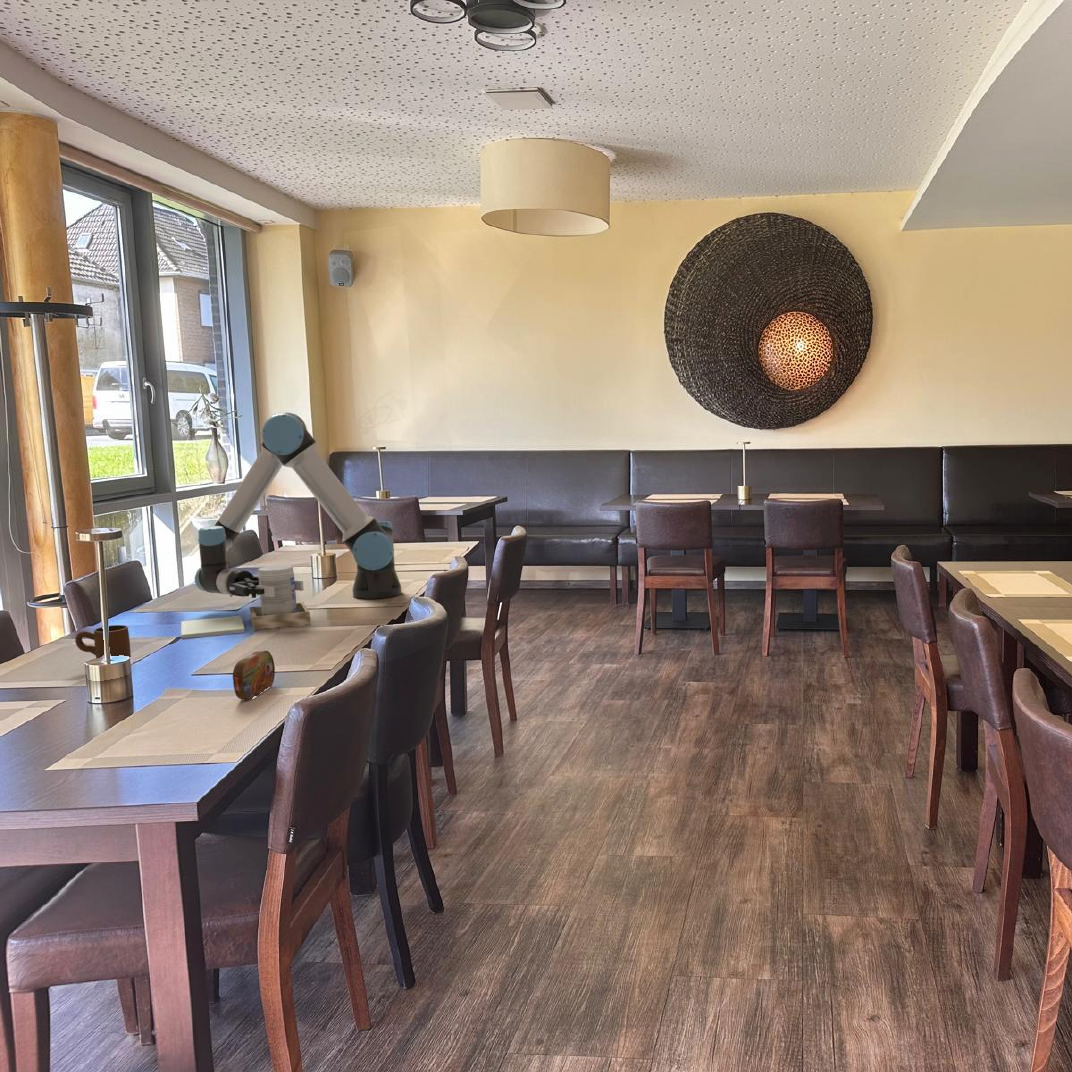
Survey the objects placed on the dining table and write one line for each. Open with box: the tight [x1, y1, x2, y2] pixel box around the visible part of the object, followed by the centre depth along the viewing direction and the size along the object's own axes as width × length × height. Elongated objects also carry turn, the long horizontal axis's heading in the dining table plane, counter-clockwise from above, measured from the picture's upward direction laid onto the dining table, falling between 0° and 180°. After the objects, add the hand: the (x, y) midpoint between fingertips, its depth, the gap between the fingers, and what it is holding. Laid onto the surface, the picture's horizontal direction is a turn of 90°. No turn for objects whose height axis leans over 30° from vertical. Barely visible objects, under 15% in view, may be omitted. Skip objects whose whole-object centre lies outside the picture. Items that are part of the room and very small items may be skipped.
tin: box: [232, 650, 276, 701], centre depth 215 cm, size 15×3×8 cm, turn 170°
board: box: [180, 615, 245, 640], centre depth 280 cm, size 16×18×1 cm
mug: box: [74, 624, 132, 660], centre depth 241 cm, size 12×8×9 cm, turn 97°
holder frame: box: [249, 601, 311, 630], centre depth 286 cm, size 15×15×4 cm
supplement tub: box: [258, 564, 297, 616], centre depth 285 cm, size 10×10×15 cm
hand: (288, 588), depth 282 cm, fingers closed on supplement tub, 9 cm apart
